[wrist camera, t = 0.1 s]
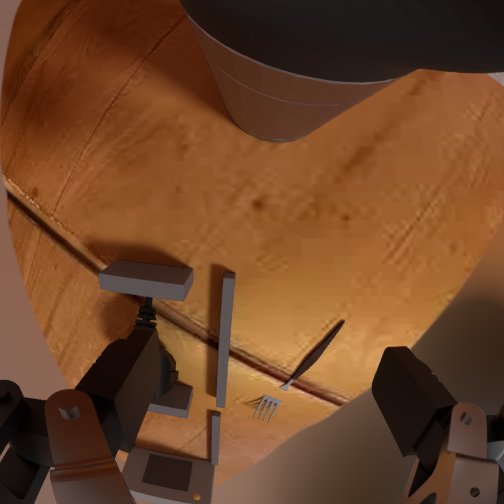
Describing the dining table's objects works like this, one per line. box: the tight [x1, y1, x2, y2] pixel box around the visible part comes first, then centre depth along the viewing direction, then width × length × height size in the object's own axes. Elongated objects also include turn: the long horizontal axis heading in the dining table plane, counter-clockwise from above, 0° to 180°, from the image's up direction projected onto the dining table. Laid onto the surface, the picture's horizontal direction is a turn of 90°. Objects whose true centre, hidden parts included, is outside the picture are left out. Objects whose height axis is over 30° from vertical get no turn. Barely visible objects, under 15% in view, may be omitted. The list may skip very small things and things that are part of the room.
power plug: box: [134, 297, 179, 399], centre depth 27 cm, size 6×8×12 cm
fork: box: [253, 321, 345, 423], centre depth 29 cm, size 3×16×2 cm, turn 148°
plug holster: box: [99, 260, 236, 418], centre depth 27 cm, size 17×12×4 cm
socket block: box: [122, 412, 221, 504], centre depth 29 cm, size 18×15×9 cm
